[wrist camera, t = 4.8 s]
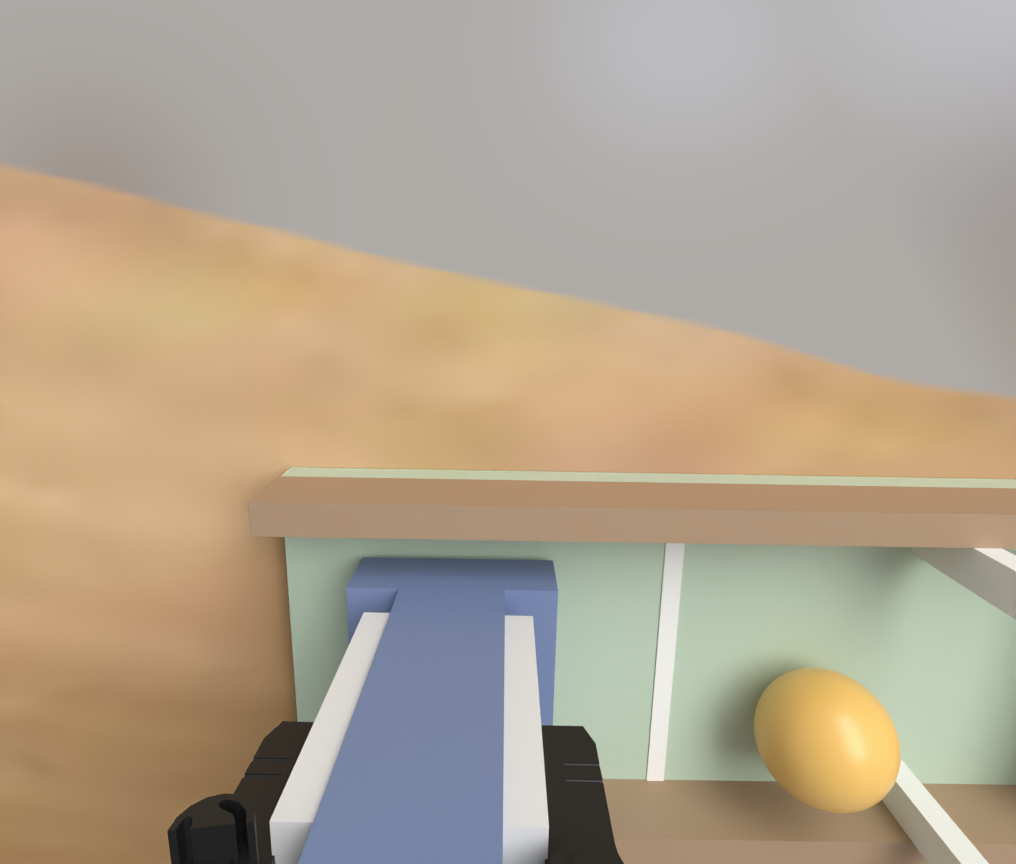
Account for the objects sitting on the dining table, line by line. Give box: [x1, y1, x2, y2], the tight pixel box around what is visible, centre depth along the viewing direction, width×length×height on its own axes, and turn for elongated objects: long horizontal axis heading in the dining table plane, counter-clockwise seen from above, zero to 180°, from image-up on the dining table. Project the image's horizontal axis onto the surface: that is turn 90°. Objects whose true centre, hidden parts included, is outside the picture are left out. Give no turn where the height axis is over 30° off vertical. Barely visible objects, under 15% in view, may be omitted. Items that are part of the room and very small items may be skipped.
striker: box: [298, 557, 558, 864], centre depth 13 cm, size 6×7×14 cm
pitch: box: [248, 467, 1016, 864], centre depth 18 cm, size 27×12×6 cm, turn 89°
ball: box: [754, 668, 901, 813], centre depth 19 cm, size 4×4×4 cm
